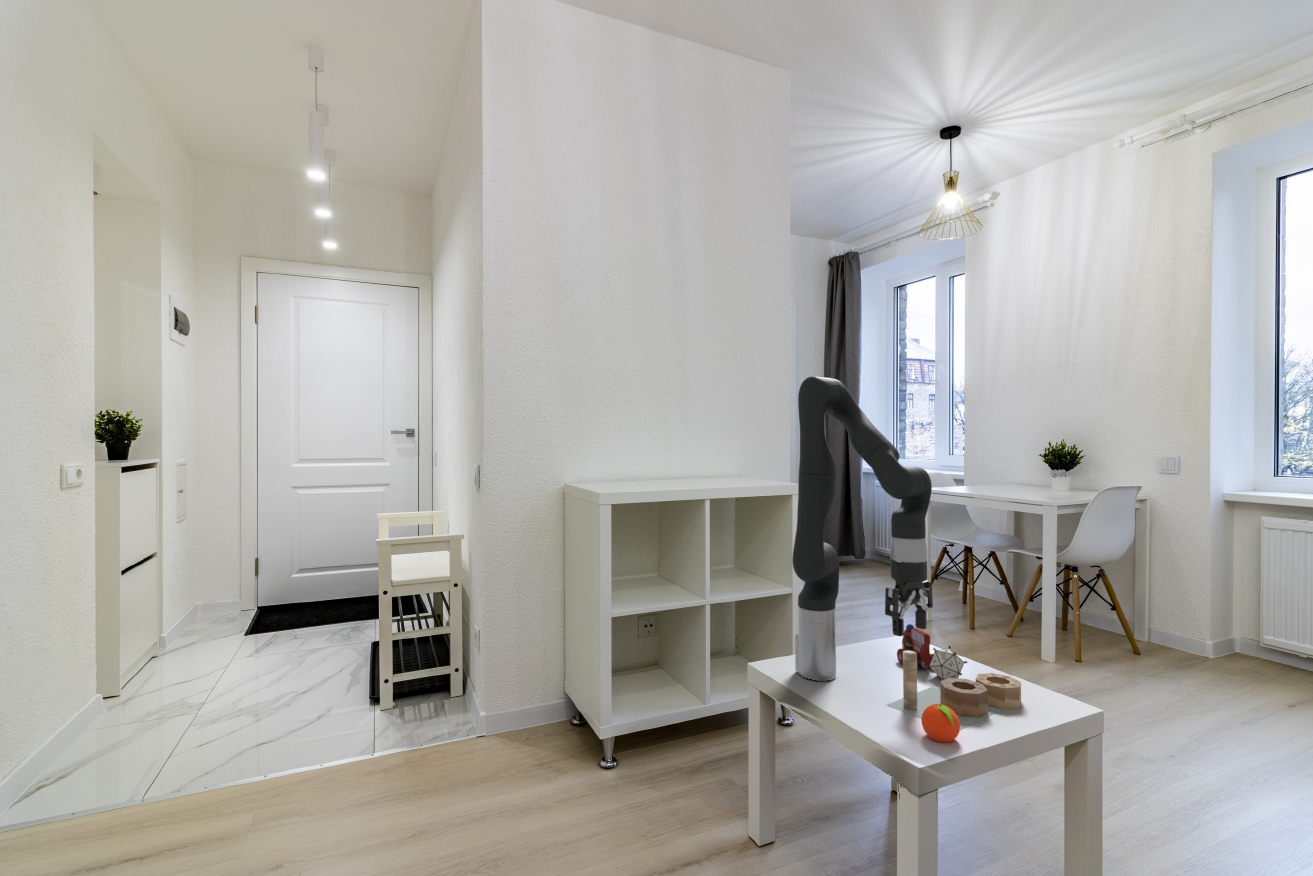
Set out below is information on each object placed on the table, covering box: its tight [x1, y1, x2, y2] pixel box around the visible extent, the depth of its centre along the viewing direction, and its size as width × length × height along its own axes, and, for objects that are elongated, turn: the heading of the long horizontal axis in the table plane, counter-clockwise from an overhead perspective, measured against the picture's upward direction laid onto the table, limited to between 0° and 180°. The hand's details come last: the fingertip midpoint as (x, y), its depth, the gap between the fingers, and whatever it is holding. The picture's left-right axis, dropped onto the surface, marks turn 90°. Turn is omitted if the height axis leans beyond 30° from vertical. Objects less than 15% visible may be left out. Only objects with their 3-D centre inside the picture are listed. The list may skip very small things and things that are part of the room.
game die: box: [925, 645, 968, 681], centre depth 153 cm, size 9×8×10 cm
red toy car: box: [896, 623, 933, 670], centre depth 163 cm, size 7×12×10 cm, turn 4°
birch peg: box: [902, 651, 918, 711], centre depth 135 cm, size 3×3×12 cm
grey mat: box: [886, 686, 1001, 731], centre depth 135 cm, size 16×18×1 cm
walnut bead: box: [939, 677, 989, 718], centre depth 135 cm, size 9×9×5 cm
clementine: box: [920, 704, 961, 743], centre depth 121 cm, size 8×7×7 cm
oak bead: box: [975, 672, 1022, 710], centre depth 139 cm, size 9×9×5 cm
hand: (909, 631), depth 136 cm, fingers open, 8 cm apart
